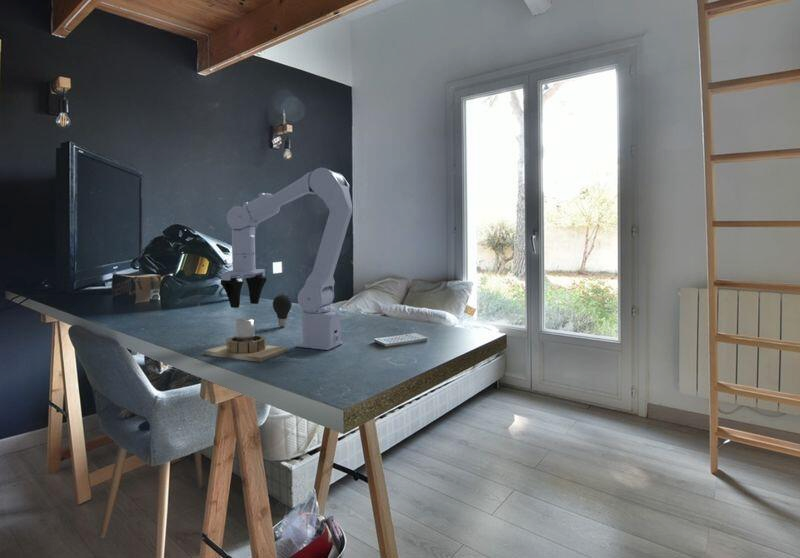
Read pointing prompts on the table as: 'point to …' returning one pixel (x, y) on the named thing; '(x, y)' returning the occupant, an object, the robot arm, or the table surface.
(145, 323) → the table surface
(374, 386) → the table surface
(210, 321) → the table surface
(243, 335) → the bayonet cap
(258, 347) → the socket base
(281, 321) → the light bulb
